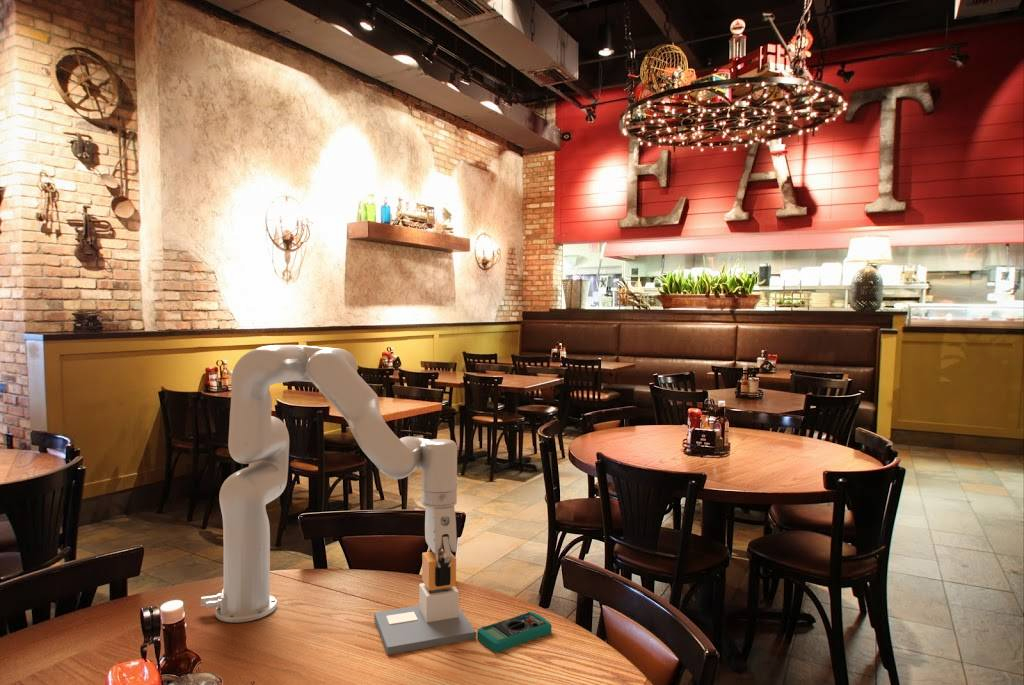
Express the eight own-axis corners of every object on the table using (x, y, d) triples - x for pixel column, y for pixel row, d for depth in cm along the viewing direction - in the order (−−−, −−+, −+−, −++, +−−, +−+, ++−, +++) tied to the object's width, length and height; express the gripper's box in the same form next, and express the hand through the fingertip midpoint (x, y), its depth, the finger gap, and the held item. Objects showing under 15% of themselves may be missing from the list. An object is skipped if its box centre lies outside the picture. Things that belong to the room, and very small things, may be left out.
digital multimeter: (554, 635, 129) (554, 621, 128) (495, 656, 120) (496, 641, 120) (532, 621, 134) (532, 608, 134) (475, 641, 126) (475, 626, 126)
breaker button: (431, 615, 131) (431, 597, 131) (426, 607, 135) (426, 589, 135) (451, 612, 133) (451, 594, 133) (445, 604, 137) (445, 586, 137)
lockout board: (387, 655, 119) (387, 619, 119) (374, 619, 134) (374, 587, 134) (475, 639, 126) (476, 605, 125) (454, 606, 140) (454, 576, 140)
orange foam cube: (428, 590, 130) (428, 562, 130) (422, 579, 136) (422, 552, 135) (455, 586, 132) (456, 558, 132) (448, 576, 138) (448, 549, 138)
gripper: (467, 505, 127) (467, 592, 127) (445, 486, 143) (445, 563, 143) (432, 509, 124) (431, 597, 124) (413, 488, 140) (413, 567, 140)
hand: (438, 578), depth 134 cm, fingers closed on orange foam cube, 6 cm apart
